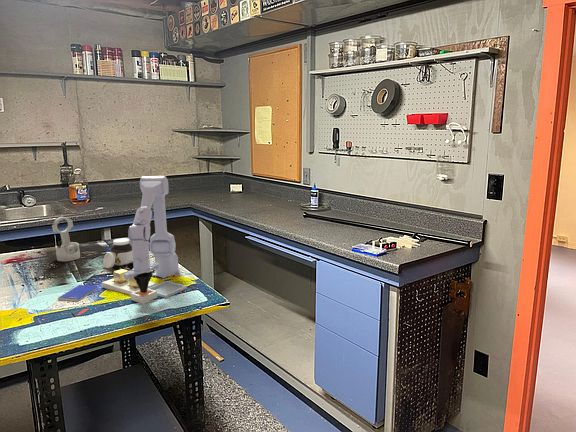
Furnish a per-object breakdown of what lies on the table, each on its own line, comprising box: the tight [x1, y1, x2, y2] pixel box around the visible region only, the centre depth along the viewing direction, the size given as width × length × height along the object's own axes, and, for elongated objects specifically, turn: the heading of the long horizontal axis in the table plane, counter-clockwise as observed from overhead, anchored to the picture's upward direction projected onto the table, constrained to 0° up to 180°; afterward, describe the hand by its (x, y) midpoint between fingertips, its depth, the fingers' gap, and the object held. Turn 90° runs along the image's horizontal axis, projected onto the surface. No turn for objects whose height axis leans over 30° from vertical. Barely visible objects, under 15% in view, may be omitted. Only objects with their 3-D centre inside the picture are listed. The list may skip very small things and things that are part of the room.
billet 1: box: [112, 268, 129, 284], centre depth 174 cm, size 4×4×6 cm
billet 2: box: [129, 277, 139, 289], centre depth 169 cm, size 4×4×6 cm
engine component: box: [51, 216, 81, 262], centre depth 205 cm, size 11×20×10 cm
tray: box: [148, 280, 188, 299], centre depth 168 cm, size 11×11×2 cm
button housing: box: [130, 289, 158, 305], centre depth 160 cm, size 7×7×3 cm
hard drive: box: [57, 284, 98, 302], centre depth 166 cm, size 2×8×12 cm
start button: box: [138, 290, 150, 296], centre depth 160 cm, size 4×4×3 cm
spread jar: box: [102, 237, 133, 269], centre depth 196 cm, size 12×11×12 cm
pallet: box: [101, 277, 158, 296], centre depth 172 cm, size 11×19×2 cm, turn 59°
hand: (143, 291), depth 160 cm, fingers closed, pressing on start button
